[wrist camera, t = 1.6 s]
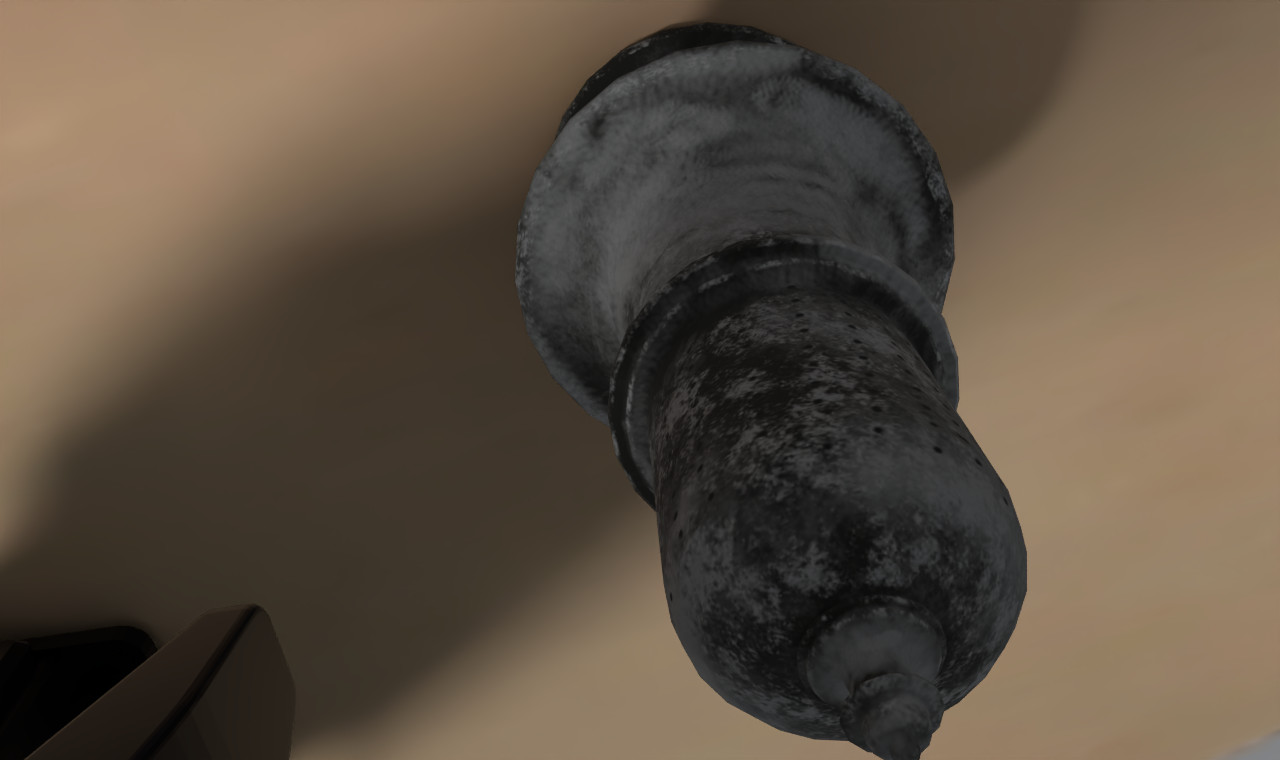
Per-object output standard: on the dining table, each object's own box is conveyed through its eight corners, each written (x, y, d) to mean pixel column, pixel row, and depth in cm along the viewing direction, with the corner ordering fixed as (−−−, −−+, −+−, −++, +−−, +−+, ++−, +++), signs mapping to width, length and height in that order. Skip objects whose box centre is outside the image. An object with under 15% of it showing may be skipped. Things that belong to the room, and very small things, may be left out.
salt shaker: (847, -51, 16) (1413, 177, 5) (916, 299, 18) (1383, 943, 8) (473, 70, 16) (255, 514, 5) (593, 393, 19) (602, 1119, 8)
